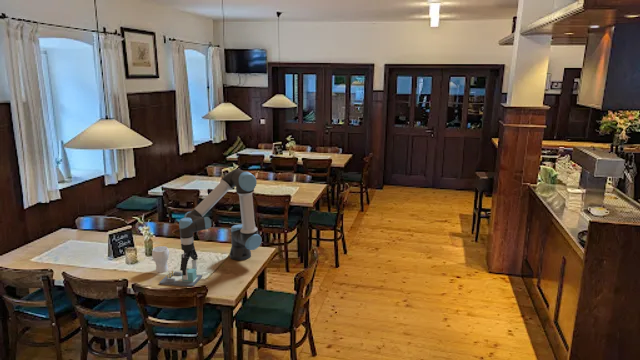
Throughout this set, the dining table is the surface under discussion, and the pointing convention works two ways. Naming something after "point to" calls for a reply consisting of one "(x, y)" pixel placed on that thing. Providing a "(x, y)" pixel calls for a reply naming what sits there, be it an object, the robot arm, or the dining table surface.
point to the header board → (178, 280)
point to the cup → (161, 258)
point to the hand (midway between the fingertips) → (190, 274)
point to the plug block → (190, 275)
